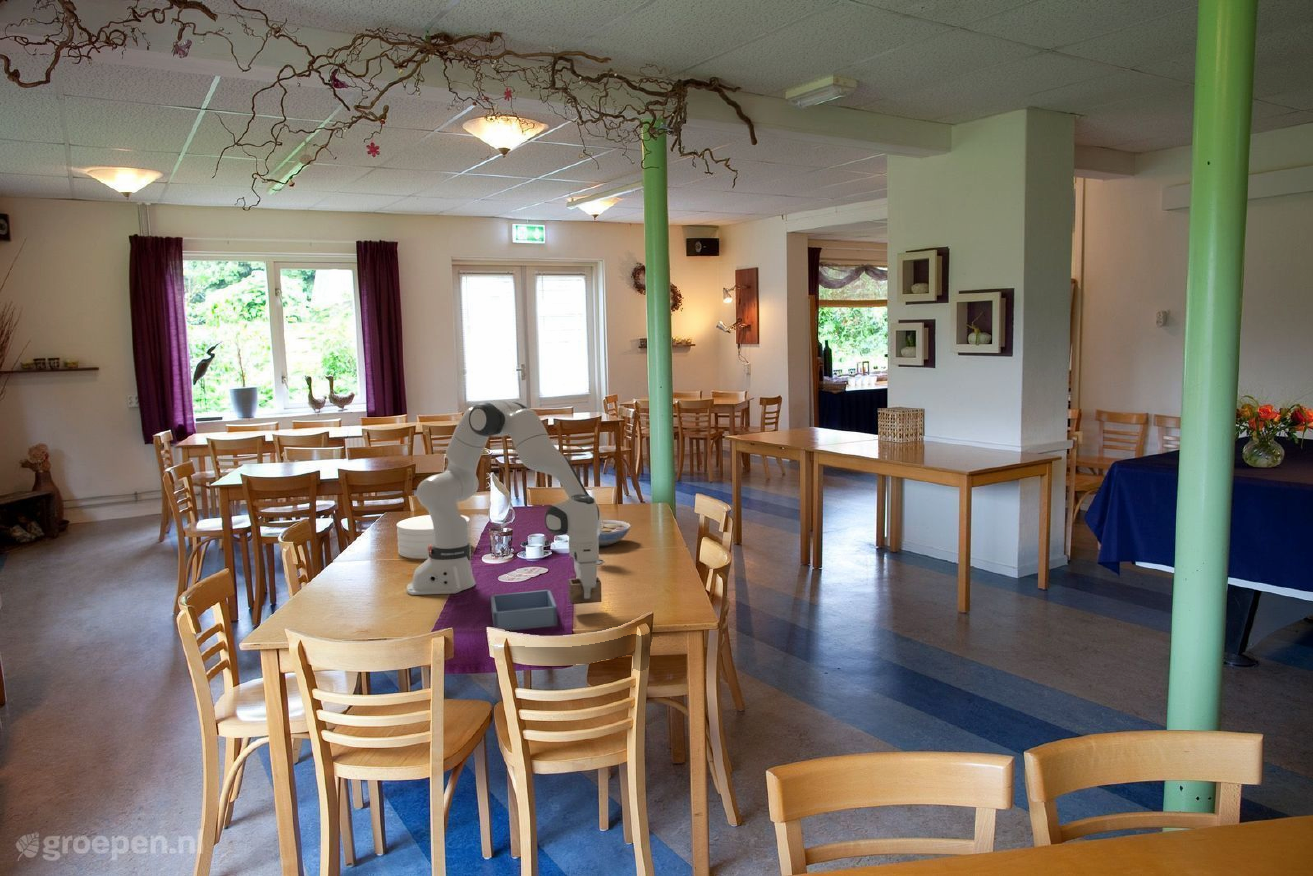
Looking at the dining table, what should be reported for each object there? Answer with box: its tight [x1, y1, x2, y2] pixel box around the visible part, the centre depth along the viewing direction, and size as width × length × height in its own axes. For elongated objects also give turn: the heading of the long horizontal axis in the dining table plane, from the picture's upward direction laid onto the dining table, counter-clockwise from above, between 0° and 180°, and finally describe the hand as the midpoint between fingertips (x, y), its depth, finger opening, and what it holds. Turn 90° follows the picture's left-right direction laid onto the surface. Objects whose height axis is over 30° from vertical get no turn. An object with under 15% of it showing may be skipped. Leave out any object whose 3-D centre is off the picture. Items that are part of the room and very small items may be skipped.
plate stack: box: [396, 514, 472, 559], centre depth 345 cm, size 28×28×12 cm
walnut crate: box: [568, 576, 603, 605], centre depth 261 cm, size 9×6×6 cm, turn 103°
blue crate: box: [490, 589, 559, 631], centre depth 258 cm, size 18×18×6 cm
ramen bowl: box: [598, 519, 632, 547], centre depth 346 cm, size 25×23×8 cm
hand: (585, 594), depth 261 cm, fingers closed on walnut crate, 6 cm apart
